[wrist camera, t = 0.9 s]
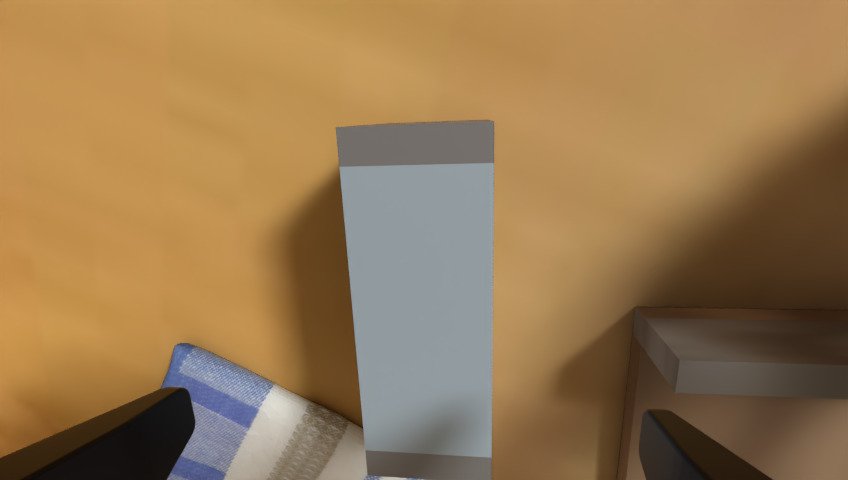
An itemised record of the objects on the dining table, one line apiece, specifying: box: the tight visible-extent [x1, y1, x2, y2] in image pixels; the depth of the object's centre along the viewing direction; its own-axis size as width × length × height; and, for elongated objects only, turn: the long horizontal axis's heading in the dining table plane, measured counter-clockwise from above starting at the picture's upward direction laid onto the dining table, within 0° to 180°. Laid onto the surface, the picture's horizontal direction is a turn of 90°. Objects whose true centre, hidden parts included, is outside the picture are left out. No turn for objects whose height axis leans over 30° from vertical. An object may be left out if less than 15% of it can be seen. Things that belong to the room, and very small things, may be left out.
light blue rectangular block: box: [336, 120, 494, 480], centre depth 15 cm, size 4×11×6 cm, turn 2°
